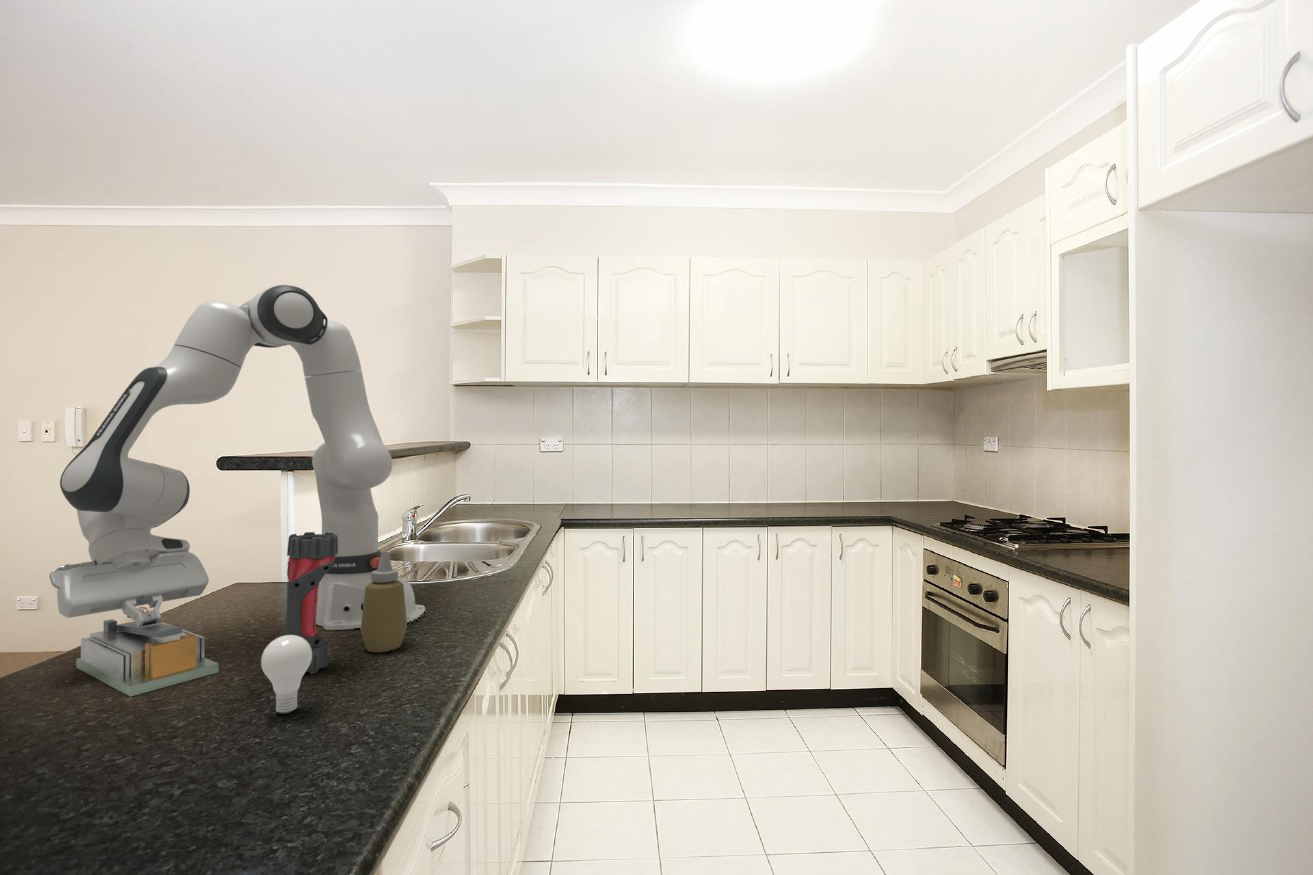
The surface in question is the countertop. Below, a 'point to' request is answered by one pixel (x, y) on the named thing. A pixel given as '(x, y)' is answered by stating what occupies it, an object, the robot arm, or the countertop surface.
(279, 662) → the lightbulb
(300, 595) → the flashlight
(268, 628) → the countertop surface
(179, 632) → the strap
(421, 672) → the countertop surface
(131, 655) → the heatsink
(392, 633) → the squeeze bottle
